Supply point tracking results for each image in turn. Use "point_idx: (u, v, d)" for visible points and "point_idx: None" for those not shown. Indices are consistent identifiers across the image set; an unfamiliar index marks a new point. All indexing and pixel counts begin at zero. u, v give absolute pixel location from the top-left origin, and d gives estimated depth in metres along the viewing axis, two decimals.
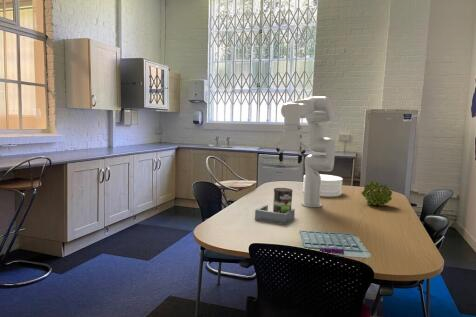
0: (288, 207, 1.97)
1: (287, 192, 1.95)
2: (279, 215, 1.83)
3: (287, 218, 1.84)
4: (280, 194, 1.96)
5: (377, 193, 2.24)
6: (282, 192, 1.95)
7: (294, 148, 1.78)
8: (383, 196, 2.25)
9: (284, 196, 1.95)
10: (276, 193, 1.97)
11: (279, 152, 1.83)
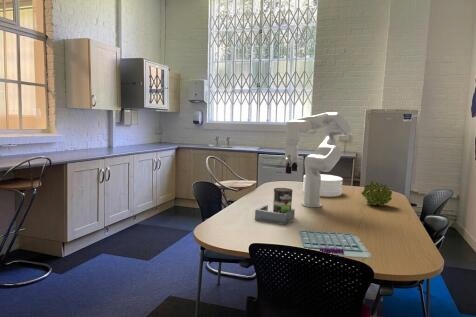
0: (288, 207, 1.97)
1: (287, 192, 1.95)
2: (279, 215, 1.83)
3: (287, 218, 1.84)
4: (280, 194, 1.96)
5: (377, 193, 2.24)
6: (282, 192, 1.95)
7: (296, 159, 2.08)
8: (383, 196, 2.25)
9: (284, 196, 1.95)
10: (276, 193, 1.97)
11: (290, 165, 2.02)
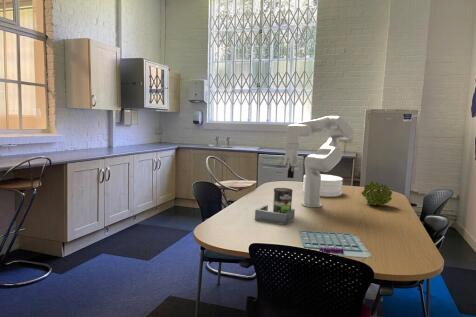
0: (288, 207, 1.97)
1: (287, 192, 1.95)
2: (279, 215, 1.83)
3: (287, 218, 1.84)
4: (280, 194, 1.96)
5: (377, 193, 2.24)
6: (282, 192, 1.95)
7: (296, 163, 2.10)
8: (383, 196, 2.25)
9: (284, 196, 1.95)
10: (276, 193, 1.97)
11: (292, 170, 2.08)
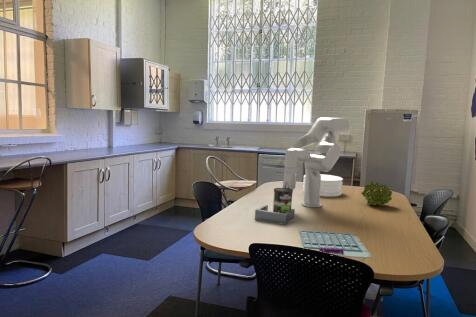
0: (288, 207, 1.97)
1: (287, 192, 1.95)
2: (279, 215, 1.83)
3: (287, 218, 1.84)
4: (280, 194, 1.96)
5: (377, 193, 2.24)
6: (282, 192, 1.95)
7: (294, 187, 2.12)
8: (383, 196, 2.25)
9: (284, 196, 1.95)
10: (276, 193, 1.97)
11: None
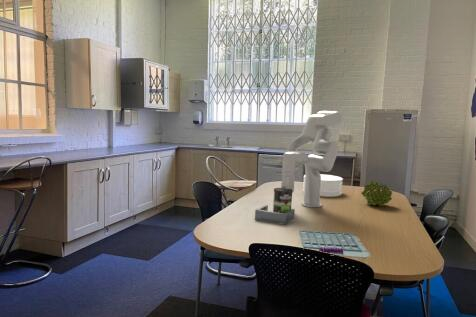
0: (288, 207, 1.97)
1: (287, 192, 1.95)
2: (279, 215, 1.83)
3: (287, 218, 1.84)
4: (280, 194, 1.96)
5: (377, 193, 2.24)
6: (282, 192, 1.95)
7: (292, 191, 2.09)
8: (383, 196, 2.25)
9: (284, 196, 1.95)
10: (276, 193, 1.97)
11: None
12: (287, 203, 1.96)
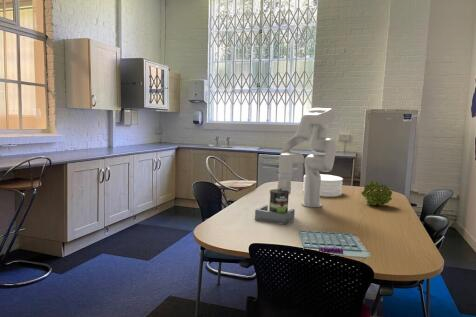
0: (284, 209, 1.92)
1: (283, 194, 1.90)
2: (279, 215, 1.83)
3: (287, 218, 1.84)
4: (276, 196, 1.91)
5: (377, 193, 2.24)
6: (278, 194, 1.90)
7: (289, 193, 2.04)
8: (383, 196, 2.25)
9: (280, 198, 1.90)
10: (272, 195, 1.92)
11: None
12: (283, 205, 1.91)
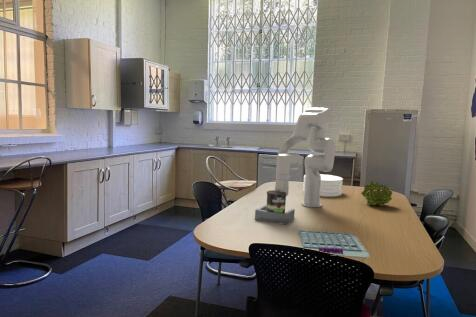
0: (281, 211, 1.88)
1: (280, 195, 1.87)
2: (279, 215, 1.83)
3: (287, 218, 1.84)
4: (273, 197, 1.87)
5: (377, 193, 2.24)
6: (275, 195, 1.87)
7: (287, 194, 2.00)
8: (383, 196, 2.25)
9: (277, 199, 1.87)
10: (269, 196, 1.89)
11: None
12: (280, 207, 1.88)
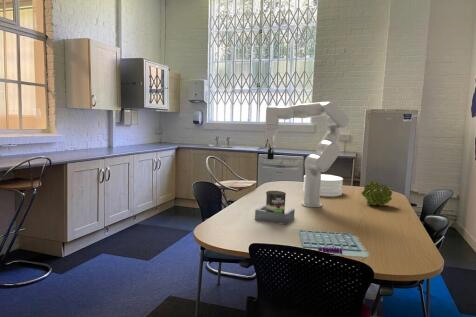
0: (281, 211, 1.88)
1: (279, 195, 1.86)
2: (279, 215, 1.83)
3: (287, 218, 1.84)
4: (272, 197, 1.87)
5: (377, 193, 2.24)
6: (274, 195, 1.86)
7: (275, 145, 2.12)
8: (383, 196, 2.25)
9: (276, 200, 1.86)
10: (268, 196, 1.88)
11: (272, 151, 2.10)
12: (279, 207, 1.87)
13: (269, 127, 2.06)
